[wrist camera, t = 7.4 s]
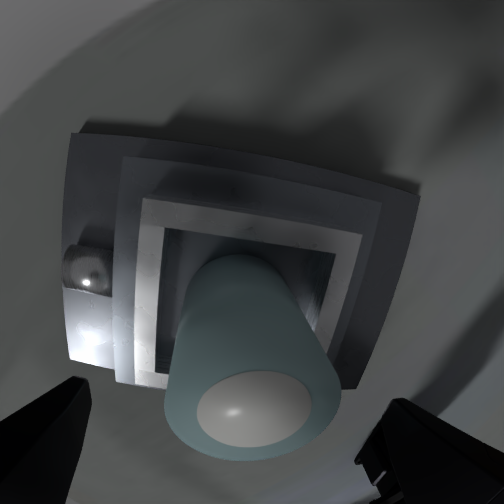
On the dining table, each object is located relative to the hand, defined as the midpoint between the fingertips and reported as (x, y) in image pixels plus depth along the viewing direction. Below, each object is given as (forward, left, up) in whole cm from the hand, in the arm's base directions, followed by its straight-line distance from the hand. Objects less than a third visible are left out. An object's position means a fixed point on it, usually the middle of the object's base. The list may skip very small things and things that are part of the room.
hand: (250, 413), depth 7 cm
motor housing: (0, 0, -10) cm, 10 cm away
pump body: (0, 0, -7) cm, 7 cm away
